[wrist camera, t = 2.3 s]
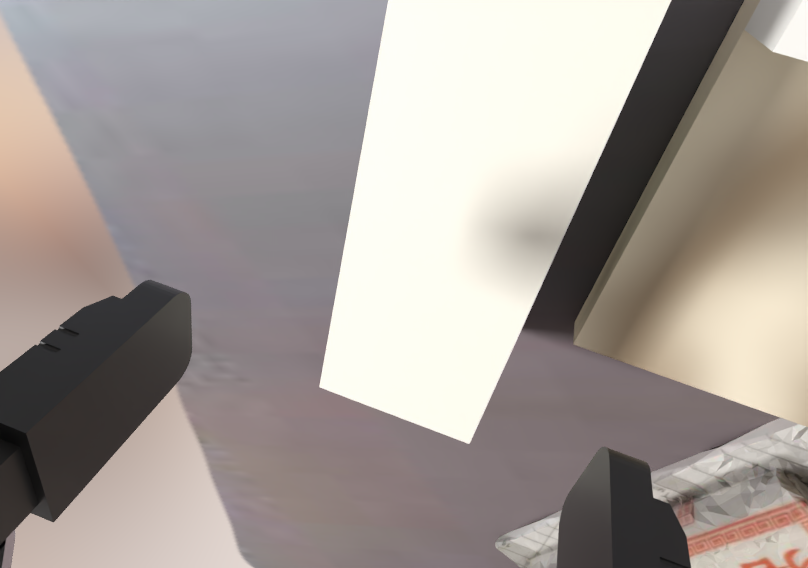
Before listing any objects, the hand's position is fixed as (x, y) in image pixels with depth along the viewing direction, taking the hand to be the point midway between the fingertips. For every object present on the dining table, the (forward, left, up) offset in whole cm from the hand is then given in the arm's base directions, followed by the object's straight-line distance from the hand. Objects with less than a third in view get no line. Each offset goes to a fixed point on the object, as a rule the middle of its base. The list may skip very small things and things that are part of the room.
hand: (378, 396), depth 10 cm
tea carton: (0, 0, -13) cm, 13 cm away
